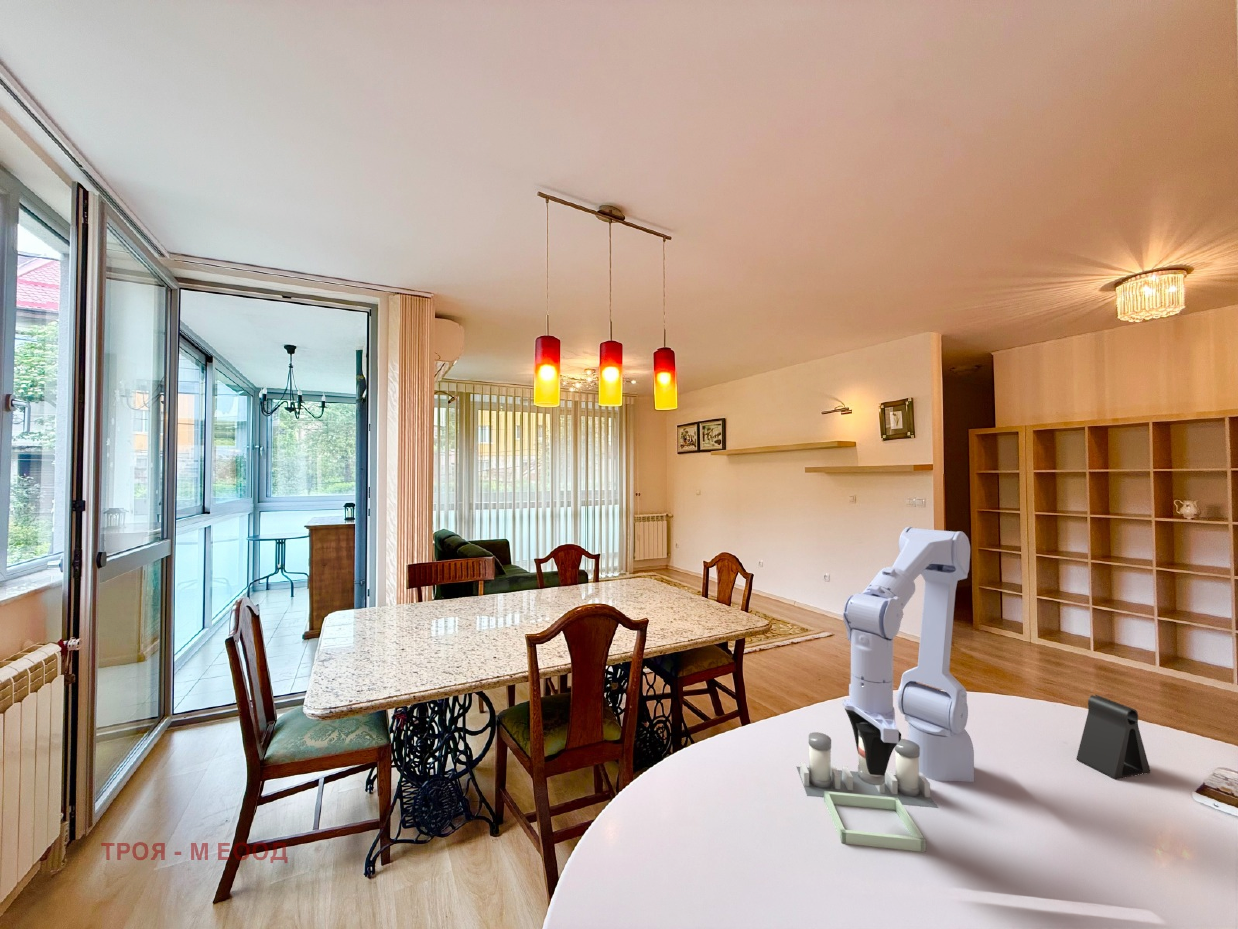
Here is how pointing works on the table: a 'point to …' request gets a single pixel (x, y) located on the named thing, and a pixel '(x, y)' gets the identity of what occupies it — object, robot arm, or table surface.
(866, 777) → the marked fuse
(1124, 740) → the phone stand
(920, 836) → the tray
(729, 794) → the table surface
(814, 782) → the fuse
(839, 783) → the clip board
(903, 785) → the fuse
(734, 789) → the table surface
